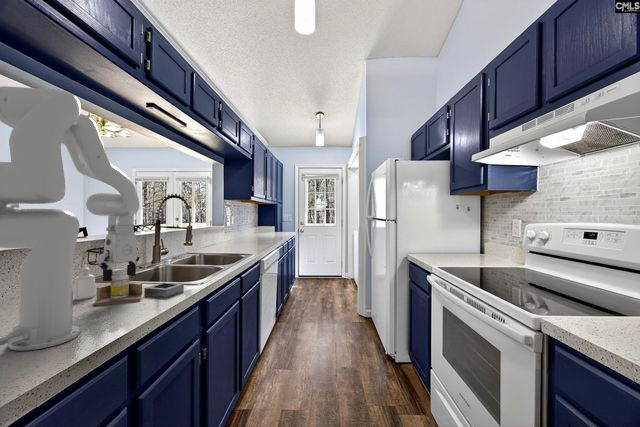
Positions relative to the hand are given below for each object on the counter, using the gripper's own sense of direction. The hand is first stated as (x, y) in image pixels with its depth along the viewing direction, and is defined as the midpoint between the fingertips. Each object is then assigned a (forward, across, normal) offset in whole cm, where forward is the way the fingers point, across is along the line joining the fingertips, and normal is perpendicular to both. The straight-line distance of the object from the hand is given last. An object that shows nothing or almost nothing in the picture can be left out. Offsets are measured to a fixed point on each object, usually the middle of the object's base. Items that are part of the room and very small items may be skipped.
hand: (119, 278), depth 104 cm
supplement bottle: (+7, 0, 0) cm, 7 cm away
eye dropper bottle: (+8, -1, +13) cm, 16 cm away
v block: (+8, +1, 0) cm, 8 cm away
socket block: (+7, +11, -10) cm, 16 cm away
